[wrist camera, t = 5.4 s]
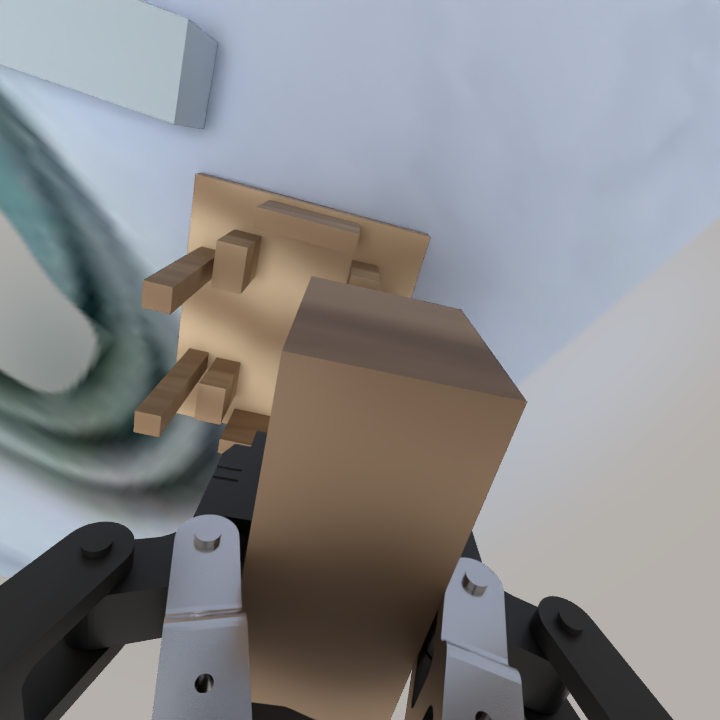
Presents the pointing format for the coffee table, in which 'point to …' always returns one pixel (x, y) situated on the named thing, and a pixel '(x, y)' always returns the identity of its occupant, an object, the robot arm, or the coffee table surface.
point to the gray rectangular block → (113, 53)
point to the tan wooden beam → (366, 494)
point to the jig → (257, 296)
